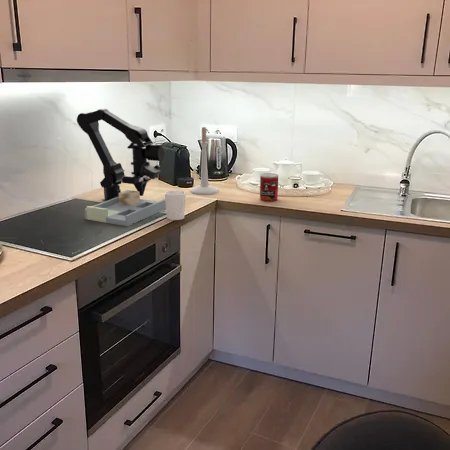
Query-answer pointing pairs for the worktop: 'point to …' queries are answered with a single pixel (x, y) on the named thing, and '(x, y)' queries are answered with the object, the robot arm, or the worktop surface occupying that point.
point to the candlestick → (204, 172)
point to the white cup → (175, 204)
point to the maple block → (129, 197)
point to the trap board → (123, 211)
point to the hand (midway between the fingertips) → (141, 195)
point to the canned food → (269, 187)
